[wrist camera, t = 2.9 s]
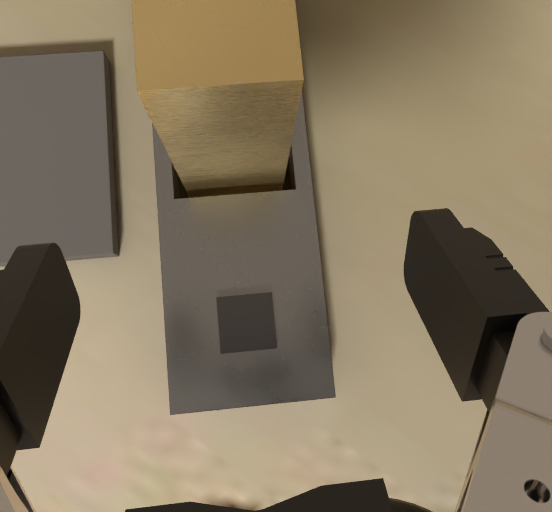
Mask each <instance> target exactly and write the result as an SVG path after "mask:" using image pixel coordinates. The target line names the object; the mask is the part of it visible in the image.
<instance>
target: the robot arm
mask: <svg viewBox="0 0 552 512" xmlns="http://www.w3.org/2000/svg"><path fill="white" fill-rule="evenodd" d="M404 279H405V284H406V287H407V290H408V292H409V294H410V296H411V299H412V301H413V303H414V305H415V307H416V309H417V311H418V313H419V315H420V317H421V319H422V321H423V323H424V325H425V327H426V329H427V331H428V333H429V335H430V337H431V339H432V341H433V343H434V345H435V347H436V349H437V351H438V353H439V356H440V358H441V360H442V362H443V364H444V366H445V368H446V370H447V372H448V374H449V376H450V378H451V380H452V382H453V384H454V386H455V388H456V390H457V392H458V394H459V396H460V398H461V400H462V401H470V400H479V399H482V400H483V402H484V404H485V405H486V407H487V412H486V415H485V417H484V421H483V424H482V427H481V430H480V433H479V437H478V440H477V443H476V446H475V450H474V453H473V456H472V459H471V462H470V466H469V469H468V472H467V475H466V478H465V482H464V485H463V488H462V491H461V494H460V497H459V500H458V503H457V506H456V509H455V512H552V312H549V310H548V309H547V308H546V307H545V305H544V304H543V303H542V302H541V300H540V299H539V298H538V297H537V295H536V294H535V293H534V292H533V291H532V289H531V288H530V287H529V286H528V284H527V283H526V282H525V281H524V279H523V278H522V277H521V276H520V274H519V273H518V272H517V271H516V270H513V266H512V265H511V263H510V262H509V261H508V260H507V258H506V257H503V253H502V252H501V251H500V250H499V248H498V247H497V246H496V245H495V244H494V242H493V241H492V240H491V239H490V238H488V237H486V236H485V235H483V234H482V233H480V232H478V231H477V230H475V229H474V228H463V226H462V225H461V224H460V222H459V221H458V220H457V218H456V217H455V216H454V214H453V213H452V212H451V211H450V210H449V209H447V208H445V209H434V210H423V211H415V212H414V213H413V214H412V216H411V220H410V227H409V234H408V241H407V247H406V254H405V261H404ZM79 320H80V301H79V297H78V294H77V291H76V288H75V286H74V283H73V280H72V277H71V275H70V272H69V269H68V267H67V264H66V261H65V259H64V256H63V253H62V251H61V249H60V247H59V246H58V245H57V244H56V243H44V244H33V245H22V246H18V247H17V248H16V249H15V251H14V253H13V254H12V256H11V258H10V260H9V261H8V263H7V265H6V267H5V269H4V270H0V512H36V511H35V509H34V508H33V506H32V504H31V502H30V500H29V498H28V496H27V494H26V492H25V491H24V489H23V487H22V485H21V483H20V481H19V479H18V477H17V475H16V474H15V472H14V470H13V469H12V467H11V464H12V461H13V458H14V456H15V453H16V450H23V449H32V448H40V444H41V441H42V438H43V435H44V432H45V429H46V425H47V422H48V419H49V416H50V413H51V410H52V406H53V403H54V400H55V397H56V394H57V391H58V387H59V384H60V381H61V378H62V375H63V372H64V368H65V365H66V362H67V359H68V356H69V353H70V350H71V346H72V343H73V340H74V337H75V334H76V331H77V327H78V324H79ZM125 512H432V511H430V510H428V509H426V508H423V507H421V506H418V505H416V504H413V503H409V502H406V501H402V500H398V499H393V498H389V497H388V494H387V490H386V487H385V483H384V480H383V478H382V479H373V480H365V481H357V482H349V483H340V484H332V485H324V486H320V487H317V488H315V489H312V490H310V491H307V492H305V493H302V494H300V495H297V496H295V497H292V498H290V499H287V500H285V501H282V502H280V503H277V504H275V505H272V506H270V507H267V508H265V509H262V510H257V511H251V510H244V509H237V508H230V507H223V506H216V505H209V504H202V503H195V502H184V503H176V504H168V505H160V506H151V507H143V508H135V509H127V510H125Z"/></svg>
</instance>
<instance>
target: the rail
mask: <svg viewBox="0 0 552 512" xmlns="http://www.w3.org/2000/svg"><path fill="white" fill-rule="evenodd" d="M152 127H153V143H154V159H155V176H156V192H157V208H158V224H159V240H160V256H161V273H162V289H163V305H164V321H165V337H166V353H167V370H168V386H169V402H170V415H174V414H183V413H193V412H202V411H212V410H221V409H231V408H240V407H250V406H259V405H268V404H278V403H287V402H297V401H306V400H316V399H325V398H335V397H336V396H335V387H334V377H333V368H332V359H331V350H330V341H329V332H328V323H327V314H326V305H325V296H324V287H323V278H322V269H321V259H320V250H319V241H318V232H317V223H316V214H315V205H314V196H313V187H312V178H311V169H310V160H309V151H308V142H307V132H306V123H305V114H304V105H303V96H302V92H301V97H300V102H299V107H298V112H297V117H296V122H295V127H294V132H293V137H292V142H291V148H290V153H289V158H288V160H289V169H290V179H291V189H292V190H282V191H270V192H257V193H245V194H233V195H220V196H208V197H195V198H183V199H180V193H179V179H178V173H177V171H176V169H175V167H174V165H173V163H172V161H171V159H170V157H169V155H168V153H167V151H166V149H165V147H164V145H163V143H162V141H161V139H160V137H159V135H158V133H157V131H156V129H155V127H154V125H153V123H152Z"/></svg>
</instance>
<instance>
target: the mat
mask: <svg viewBox="0 0 552 512" xmlns="http://www.w3.org/2000/svg"><path fill="white" fill-rule="evenodd" d="M44 243H56V244H57V245H58V246H59V247H60V249H61V251H62V253H63V256H64V259H65V261H69V260H80V259H92V258H103V257H115V256H119V248H118V228H117V207H116V187H115V167H114V146H113V126H112V106H111V85H110V65H109V60H108V59H107V57H106V55H105V53H104V51H92V52H76V53H60V54H44V55H28V56H12V57H0V266H6V265H7V263H8V261H9V260H10V258H11V256H12V254H13V253H14V251H15V249H16V248H17V247H18V246H22V245H33V244H44Z"/></svg>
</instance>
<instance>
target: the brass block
mask: <svg viewBox="0 0 552 512" xmlns="http://www.w3.org/2000/svg"><path fill="white" fill-rule="evenodd" d="M132 15H133V32H134V50H135V67H136V84H137V92H138V94H139V96H140V98H141V100H142V102H143V104H144V106H145V108H146V110H147V113H148V115H149V117H150V119H151V121H152V123H153V125H154V127H155V129H156V131H157V133H158V135H159V137H160V139H161V141H162V143H163V145H164V147H165V149H166V151H167V153H168V155H169V157H170V159H171V161H172V163H173V165H174V167H175V169H176V171H177V173H178V175H179V177H180V180H181V182H182V184H183V186H184V188H185V190H186V192H187V194H188V196H189V198H195V197H208V196H220V195H233V194H245V193H257V192H270V191H282V188H283V183H284V178H285V173H286V168H287V163H288V158H289V153H290V148H291V142H292V137H293V132H294V127H295V122H296V117H297V112H298V107H299V102H300V97H301V92H302V87H303V82H304V76H303V67H302V58H301V49H300V40H299V31H298V22H297V13H296V4H295V0H132Z"/></svg>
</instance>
